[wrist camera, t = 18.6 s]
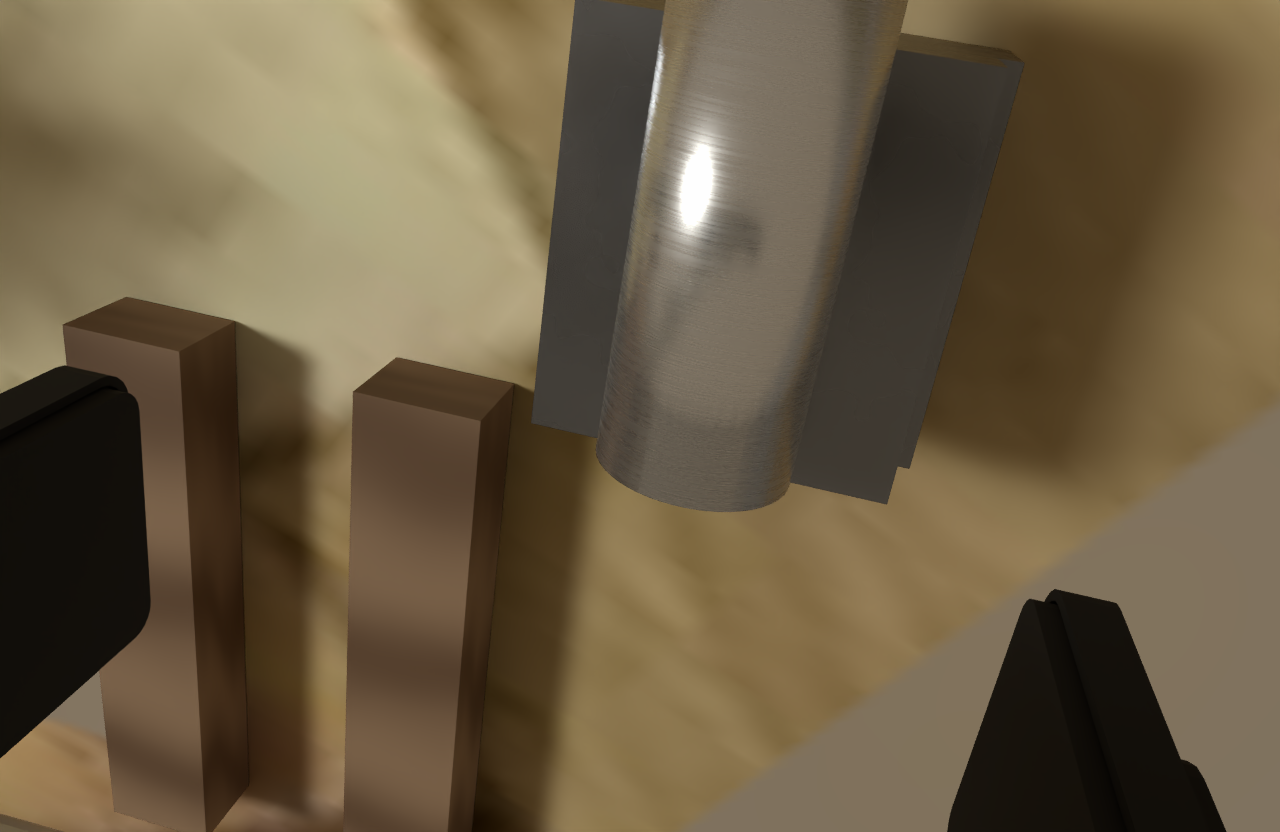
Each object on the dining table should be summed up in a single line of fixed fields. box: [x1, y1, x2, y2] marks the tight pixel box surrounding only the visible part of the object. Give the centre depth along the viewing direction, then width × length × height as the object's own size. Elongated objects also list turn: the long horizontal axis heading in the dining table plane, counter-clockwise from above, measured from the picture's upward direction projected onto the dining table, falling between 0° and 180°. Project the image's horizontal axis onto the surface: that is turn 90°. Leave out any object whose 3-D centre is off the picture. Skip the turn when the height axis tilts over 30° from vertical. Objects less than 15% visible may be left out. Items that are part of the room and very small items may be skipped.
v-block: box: [531, 0, 1024, 504], centre depth 23 cm, size 9×9×5 cm
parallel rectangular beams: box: [63, 297, 514, 832], centre depth 32 cm, size 18×12×3 cm, turn 172°
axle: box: [596, 0, 908, 512], centre depth 19 cm, size 10×4×4 cm
